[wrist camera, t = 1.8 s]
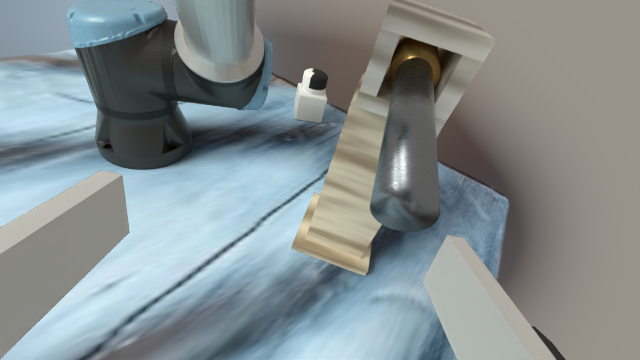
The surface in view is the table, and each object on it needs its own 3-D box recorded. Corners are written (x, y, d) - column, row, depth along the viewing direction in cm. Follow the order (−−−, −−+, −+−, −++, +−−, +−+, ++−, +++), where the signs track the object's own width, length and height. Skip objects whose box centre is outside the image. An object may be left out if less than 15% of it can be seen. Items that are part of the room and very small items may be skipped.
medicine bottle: (318, 110, 76) (329, 69, 68) (321, 123, 71) (332, 80, 63) (293, 106, 74) (301, 63, 66) (294, 119, 69) (303, 75, 61)
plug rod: (424, 248, 14) (477, 199, 11) (347, 220, 14) (376, 163, 11) (424, 65, 32) (444, 26, 29) (390, 53, 32) (406, 13, 29)
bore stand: (364, 275, 41) (524, 50, 19) (291, 248, 41) (363, -2, 19) (372, 219, 50) (486, 23, 28) (312, 197, 50) (377, -12, 28)
